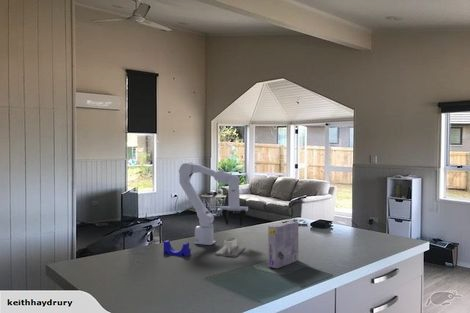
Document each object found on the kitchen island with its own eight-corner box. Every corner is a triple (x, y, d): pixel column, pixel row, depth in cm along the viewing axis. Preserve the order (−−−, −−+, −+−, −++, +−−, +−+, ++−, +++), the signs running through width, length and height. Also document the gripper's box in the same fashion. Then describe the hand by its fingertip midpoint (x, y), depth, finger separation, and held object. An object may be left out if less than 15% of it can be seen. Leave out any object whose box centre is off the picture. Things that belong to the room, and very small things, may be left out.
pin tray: (215, 255, 193) (215, 247, 193) (225, 247, 209) (225, 240, 208) (236, 256, 190) (236, 249, 190) (244, 248, 206) (244, 241, 206)
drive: (223, 251, 196) (223, 240, 195) (229, 247, 204) (229, 236, 204) (231, 252, 194) (231, 241, 194) (236, 247, 203) (236, 237, 203)
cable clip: (190, 254, 194) (190, 242, 194) (185, 257, 190) (185, 244, 190) (168, 252, 199) (168, 239, 199) (163, 254, 195) (163, 241, 194)
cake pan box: (290, 258, 189) (291, 219, 189) (300, 260, 186) (300, 221, 186) (266, 267, 175) (267, 226, 174) (276, 269, 171) (277, 227, 171)
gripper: (218, 199, 212) (218, 225, 212) (245, 199, 208) (245, 226, 209) (222, 197, 219) (222, 222, 219) (248, 197, 215) (249, 223, 215)
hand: (234, 224), depth 214 cm, fingers open, 7 cm apart
